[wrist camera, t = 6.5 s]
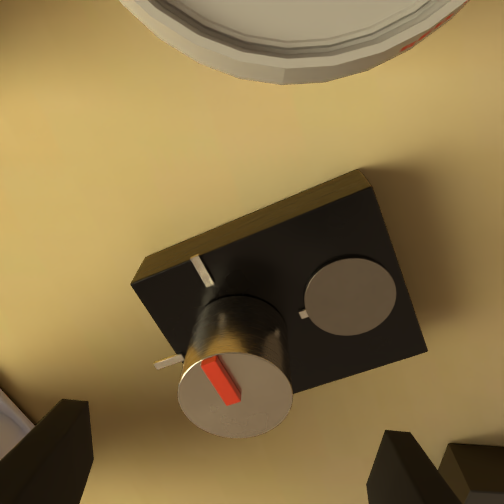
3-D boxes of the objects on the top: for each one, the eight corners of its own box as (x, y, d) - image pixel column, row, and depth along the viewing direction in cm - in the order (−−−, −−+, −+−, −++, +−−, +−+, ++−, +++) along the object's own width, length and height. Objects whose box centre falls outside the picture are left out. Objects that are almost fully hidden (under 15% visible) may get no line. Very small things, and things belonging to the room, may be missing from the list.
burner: (322, 343, 18) (322, 346, 18) (289, 275, 16) (290, 278, 16) (405, 315, 17) (407, 318, 17) (379, 242, 16) (381, 244, 15)
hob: (204, 389, 22) (198, 428, 20) (122, 264, 19) (103, 293, 17) (411, 320, 20) (430, 356, 18) (357, 165, 17) (372, 184, 14)
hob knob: (302, 355, 18) (311, 427, 15) (218, 383, 19) (208, 457, 15) (263, 281, 16) (264, 342, 13) (175, 315, 17) (153, 381, 14)
